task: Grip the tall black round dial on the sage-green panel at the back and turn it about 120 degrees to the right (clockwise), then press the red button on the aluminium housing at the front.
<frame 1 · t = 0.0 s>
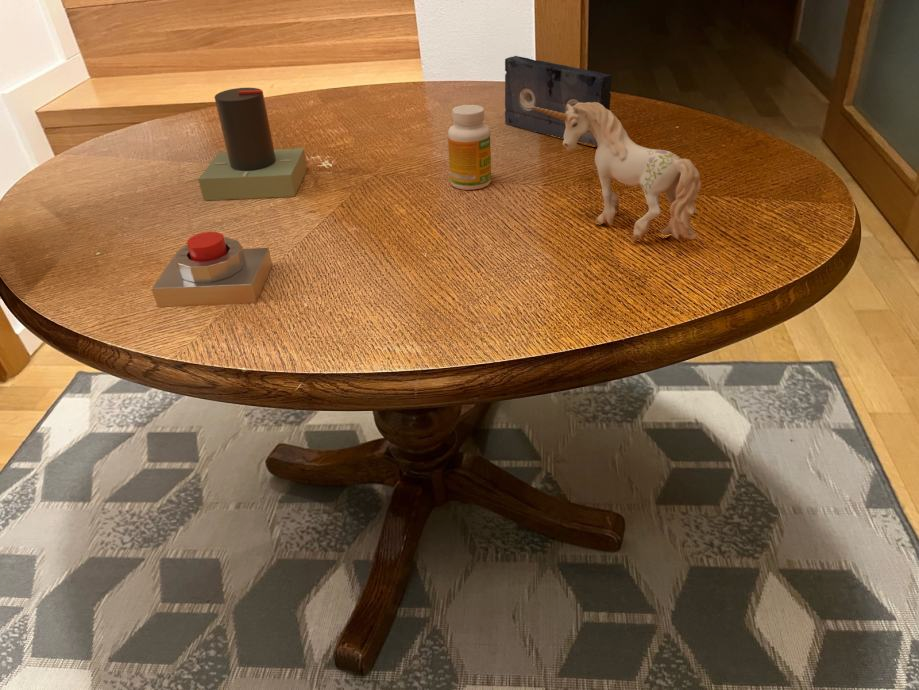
unicorn figurine: (606, 236, 82), on the table
vhs cassette tape: (553, 135, 111), on the table
supplement bottle: (470, 184, 97), on the table
dial: (245, 128, 95), point 8 cm above the table, hinge at 0.0°
dial panel: (257, 184, 100), on the table
button box: (217, 285, 76), on the table
button: (207, 247, 74), point 4 cm above the table, slide at 0.1 cm
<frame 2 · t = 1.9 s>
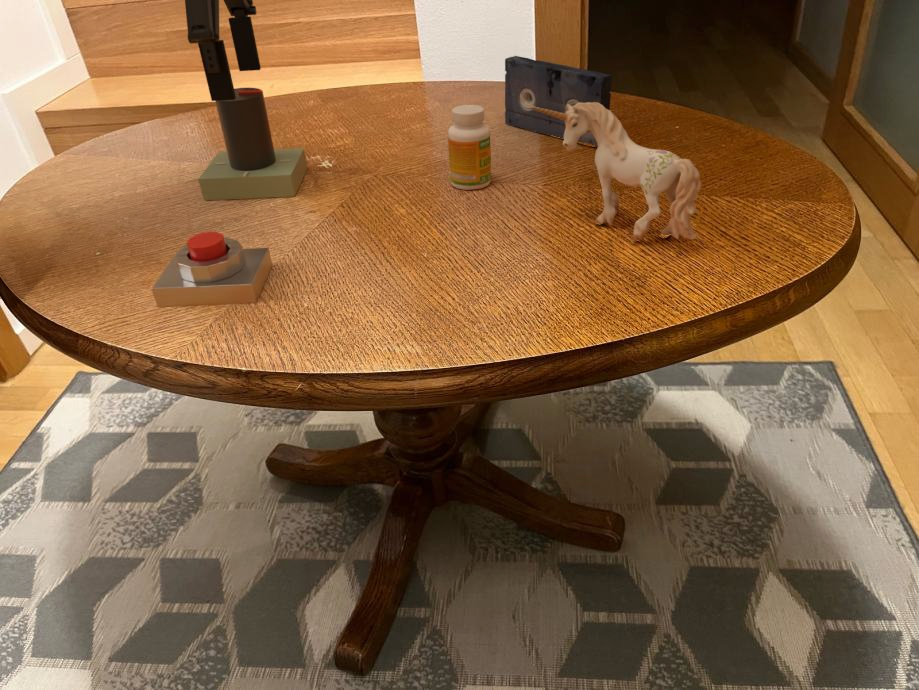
hand: (237, 84, 92), 13 cm above the table, tool pointing down, fingers open, 13 cm apart
nothing on the table moved.
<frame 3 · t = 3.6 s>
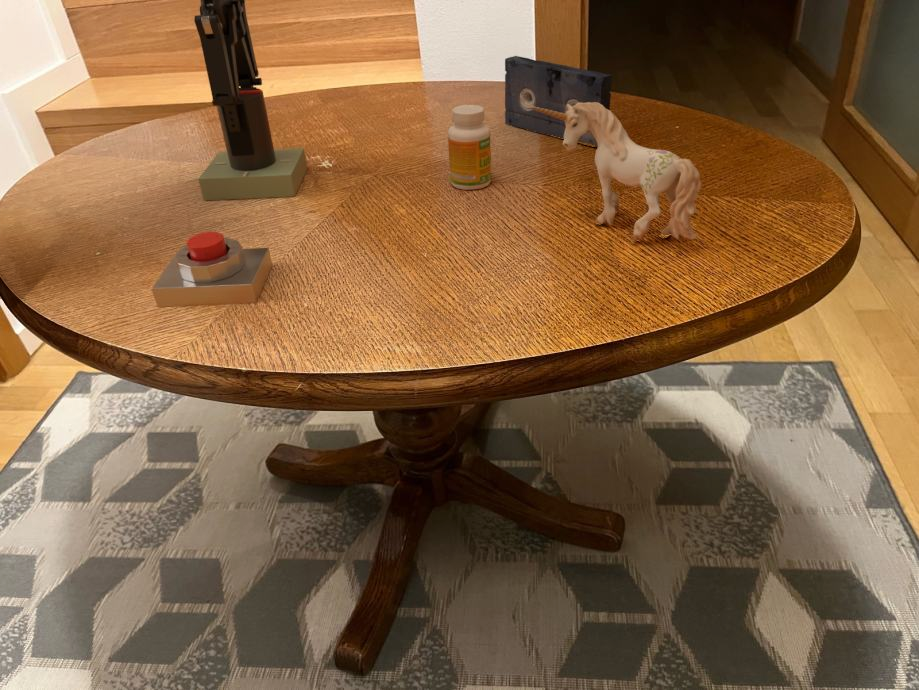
hand: (249, 145, 96), 5 cm above the table, tool pointing down, fingers closed on dial, 6 cm apart
dial: (245, 128, 95), point 8 cm above the table, hinge at -0.1°, touching gripper
everything else where it was.
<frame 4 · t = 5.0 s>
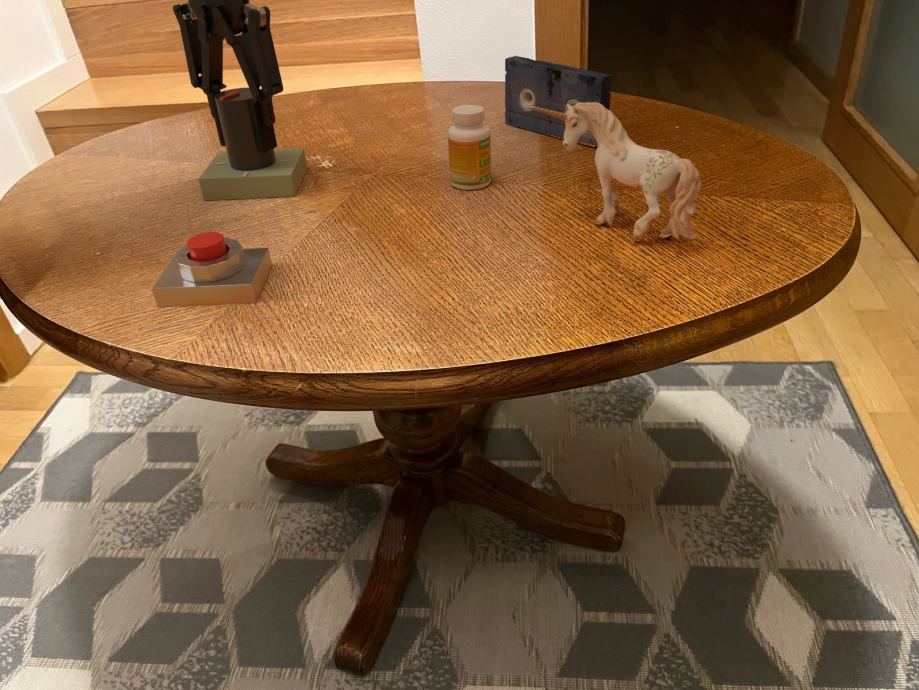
hand: (248, 145, 96), 5 cm above the table, tool pointing down, fingers closed on dial, 6 cm apart
dial: (245, 128, 95), point 8 cm above the table, hinge at -122.6°, touching gripper
everything else where it was.
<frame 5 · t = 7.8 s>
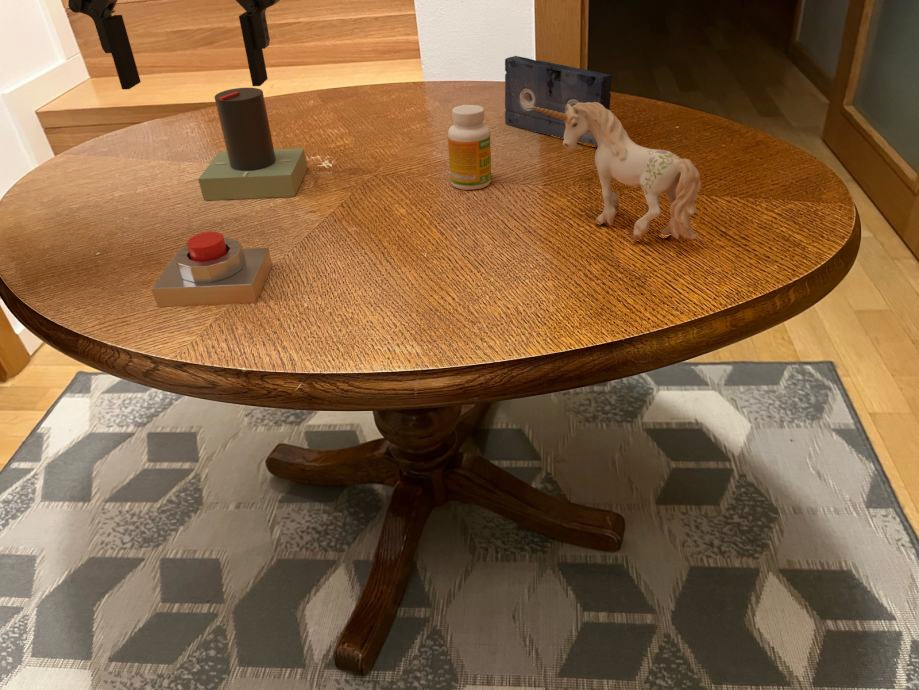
hand: (195, 84, 75), 18 cm above the table, tool pointing down, fingers open, 13 cm apart
dial: (245, 128, 95), point 8 cm above the table, hinge at -123.1°
everything else where it was.
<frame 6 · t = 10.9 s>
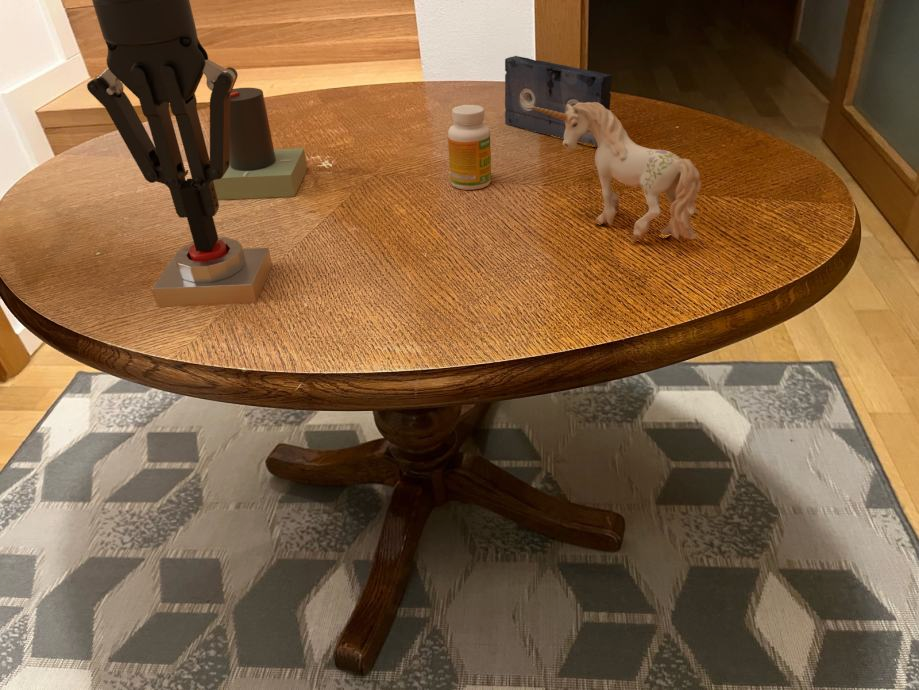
hand: (207, 244, 74), 5 cm above the table, tool pointing down, fingers closed
button: (209, 254, 74), point 4 cm above the table, slide at -0.7 cm, touching gripper
everything else where it was.
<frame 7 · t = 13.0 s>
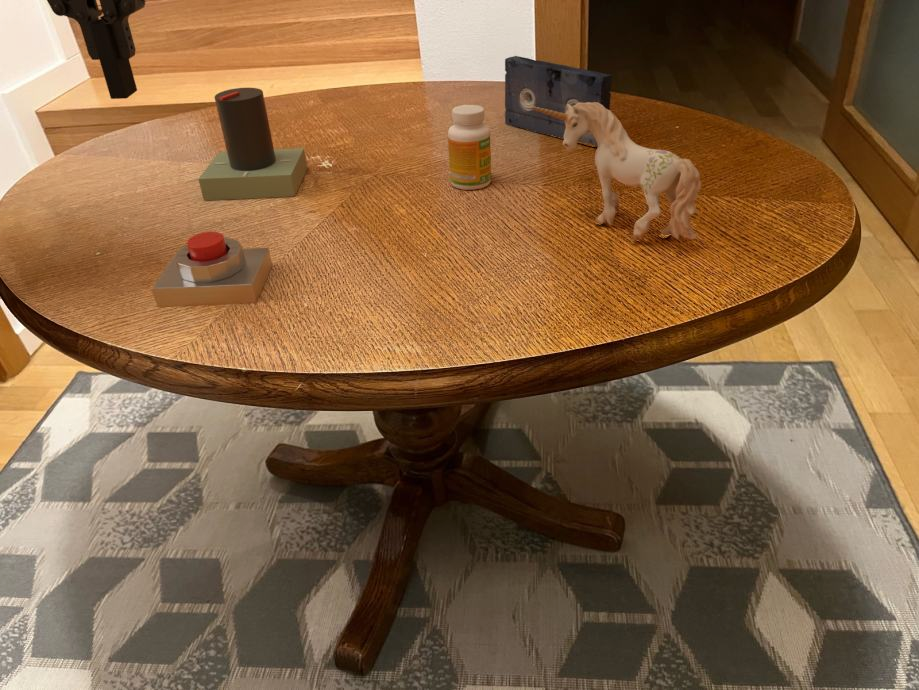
hand: (124, 94, 69), 19 cm above the table, tool pointing down, fingers closed
button: (207, 247, 74), point 4 cm above the table, slide at 0.1 cm
everything else where it was.
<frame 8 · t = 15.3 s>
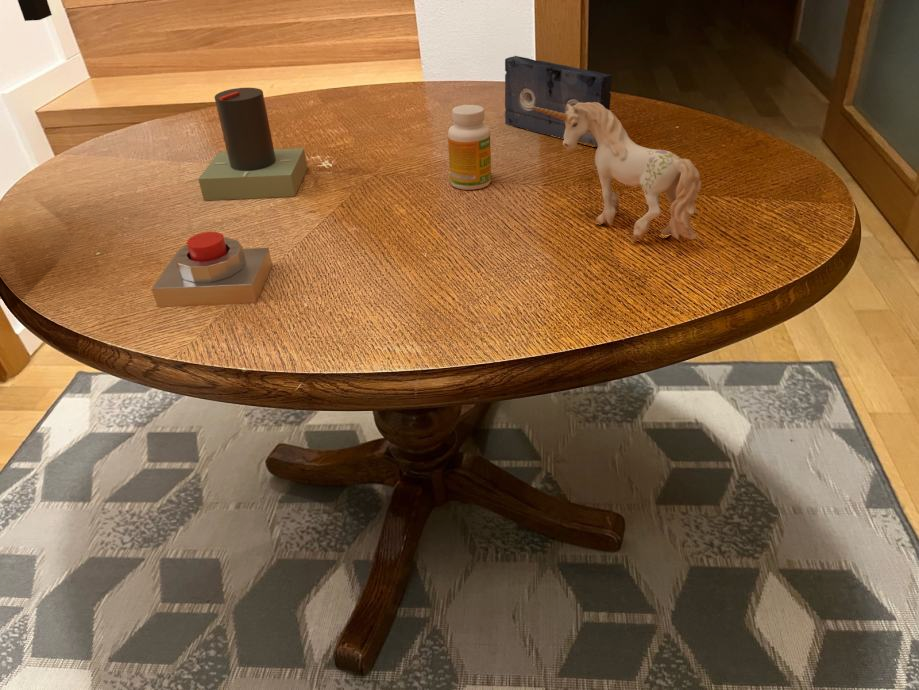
hand: (38, 17, 74), 24 cm above the table, tool pointing down, fingers closed
nothing on the table moved.
at the end: dial at -123° (first picture: +0°); button pushed in 1.0 cm at the most during the clip, back to where it started at the end; button slide at 0.1 cm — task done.
